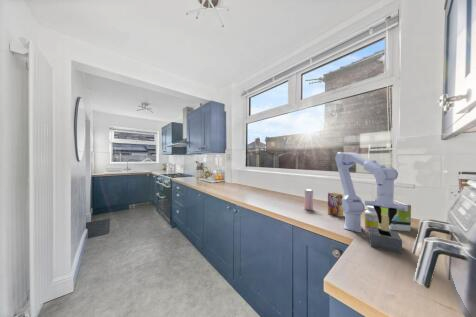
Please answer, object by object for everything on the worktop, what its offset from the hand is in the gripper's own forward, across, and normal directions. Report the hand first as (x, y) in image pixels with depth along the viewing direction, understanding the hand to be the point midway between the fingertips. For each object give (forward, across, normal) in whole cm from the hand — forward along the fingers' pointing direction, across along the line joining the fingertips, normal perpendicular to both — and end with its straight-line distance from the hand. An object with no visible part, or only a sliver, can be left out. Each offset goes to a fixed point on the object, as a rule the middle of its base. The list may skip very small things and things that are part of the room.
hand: (384, 223), depth 76 cm
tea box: (+11, +7, +33) cm, 35 cm away
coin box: (+10, 0, 0) cm, 10 cm away
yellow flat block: (+2, 0, 0) cm, 2 cm away
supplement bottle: (+11, -3, +19) cm, 22 cm away
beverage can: (+11, -40, +36) cm, 55 cm away
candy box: (+11, -22, +34) cm, 42 cm away
